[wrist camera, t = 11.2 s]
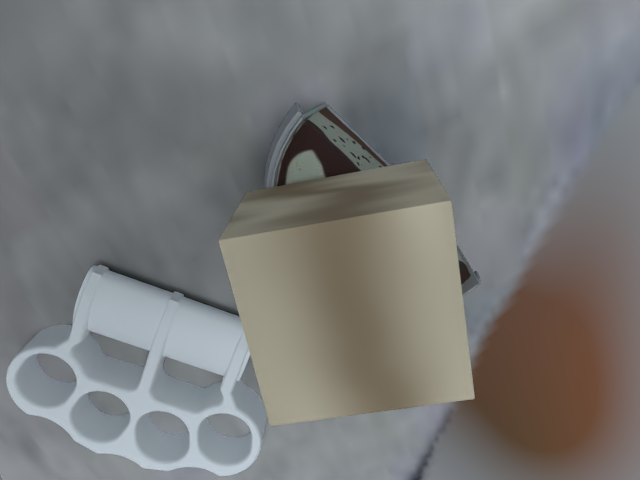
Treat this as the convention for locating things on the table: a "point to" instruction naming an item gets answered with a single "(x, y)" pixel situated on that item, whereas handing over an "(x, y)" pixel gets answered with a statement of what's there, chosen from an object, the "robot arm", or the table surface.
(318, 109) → the food container
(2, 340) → the table surface
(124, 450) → the white brass knuckles
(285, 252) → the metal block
